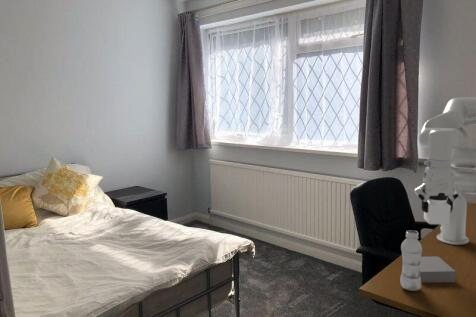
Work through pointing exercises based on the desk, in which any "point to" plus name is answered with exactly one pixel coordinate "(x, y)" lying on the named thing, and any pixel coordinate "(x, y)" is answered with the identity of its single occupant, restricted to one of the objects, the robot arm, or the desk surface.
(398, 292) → the desk surface
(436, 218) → the medicine bottle
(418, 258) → the plastic bottle
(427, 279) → the base block
